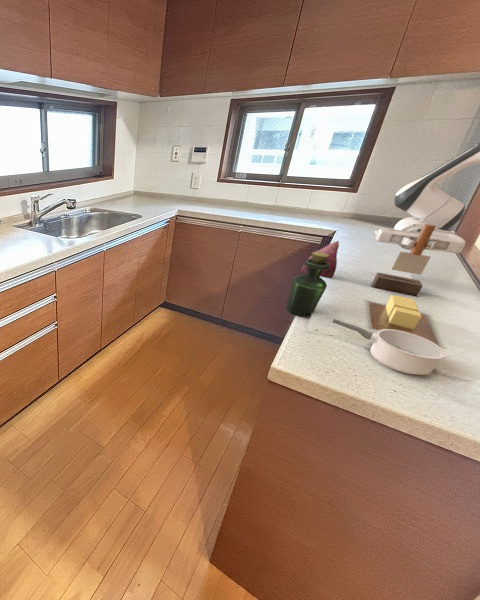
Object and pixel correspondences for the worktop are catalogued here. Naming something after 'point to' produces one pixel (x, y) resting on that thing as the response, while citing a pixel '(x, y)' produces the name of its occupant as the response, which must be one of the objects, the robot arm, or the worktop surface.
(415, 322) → the butter slice
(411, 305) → the butter block
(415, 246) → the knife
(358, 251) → the worktop surface
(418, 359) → the saucepan
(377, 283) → the dark brown rectangular block
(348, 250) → the worktop surface
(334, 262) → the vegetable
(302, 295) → the potion bottle
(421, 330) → the cutting board
